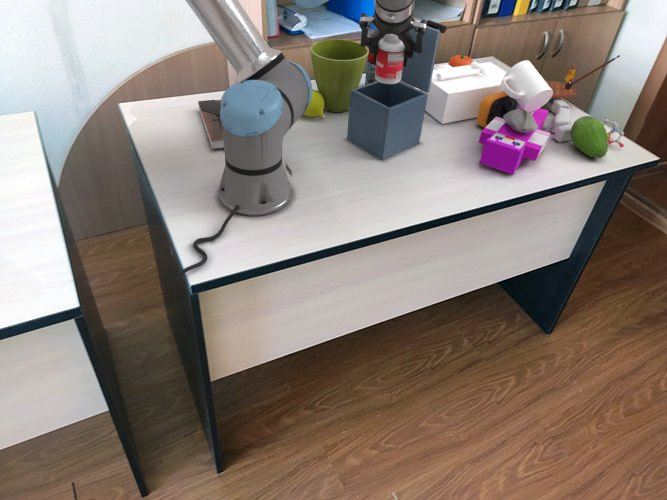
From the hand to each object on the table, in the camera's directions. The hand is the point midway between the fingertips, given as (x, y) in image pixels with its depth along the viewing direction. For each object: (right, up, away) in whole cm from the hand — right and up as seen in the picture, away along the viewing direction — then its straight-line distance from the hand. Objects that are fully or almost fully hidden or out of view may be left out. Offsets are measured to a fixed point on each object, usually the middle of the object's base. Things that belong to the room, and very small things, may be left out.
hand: (390, 59), depth 124 cm
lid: (+5, +1, +1) cm, 5 cm away
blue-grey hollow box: (-1, -17, +11) cm, 20 cm away
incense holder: (+53, +3, +35) cm, 63 cm away
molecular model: (+64, -13, +18) cm, 68 cm away
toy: (+41, -8, +22) cm, 48 cm away
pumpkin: (+26, +11, +46) cm, 54 cm away
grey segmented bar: (+47, -8, +23) cm, 52 cm away
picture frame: (-38, -13, +13) cm, 42 cm away
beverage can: (-1, +3, +35) cm, 35 cm away
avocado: (+50, -11, +13) cm, 53 cm away
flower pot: (-13, -5, +25) cm, 28 cm away
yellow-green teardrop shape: (-21, -2, +19) cm, 29 cm away
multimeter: (+32, -4, +22) cm, 39 cm away
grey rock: (+32, -15, +7) cm, 36 cm away
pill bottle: (-1, -5, 0) cm, 5 cm away
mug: (+37, -7, +11) cm, 40 cm away
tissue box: (+24, -3, +30) cm, 38 cm away
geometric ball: (+20, +11, +37) cm, 43 cm away
